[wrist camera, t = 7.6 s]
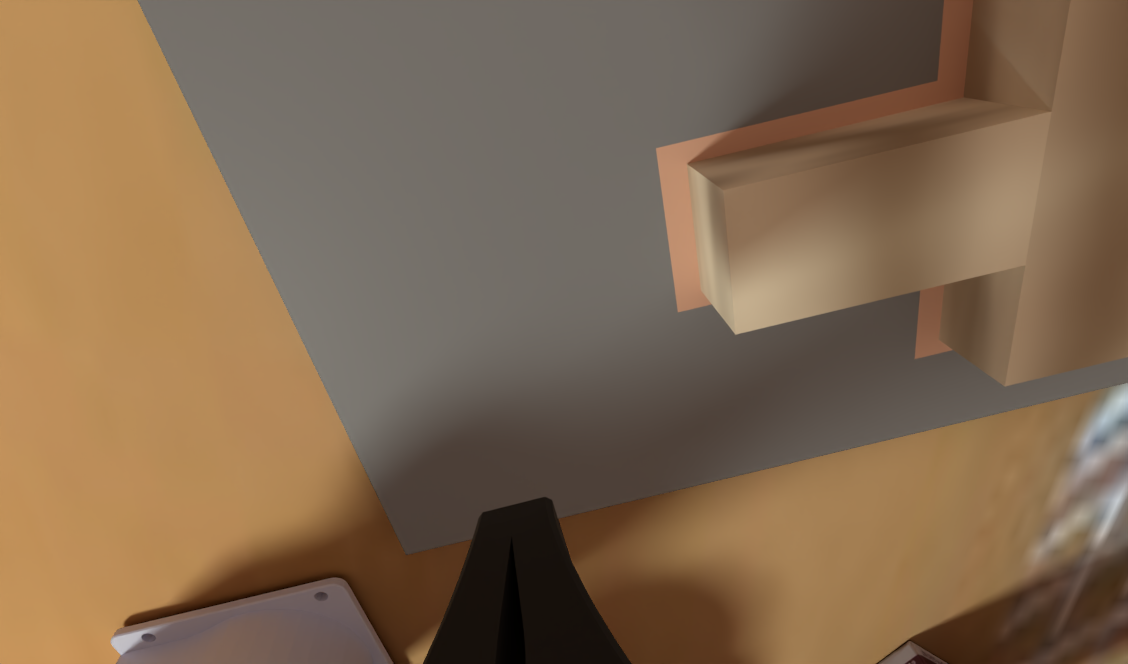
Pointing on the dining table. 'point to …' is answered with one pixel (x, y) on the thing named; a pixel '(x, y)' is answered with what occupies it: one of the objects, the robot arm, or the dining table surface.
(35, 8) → the dining table surface
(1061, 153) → the t block
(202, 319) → the dining table surface
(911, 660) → the supplement box
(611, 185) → the board
